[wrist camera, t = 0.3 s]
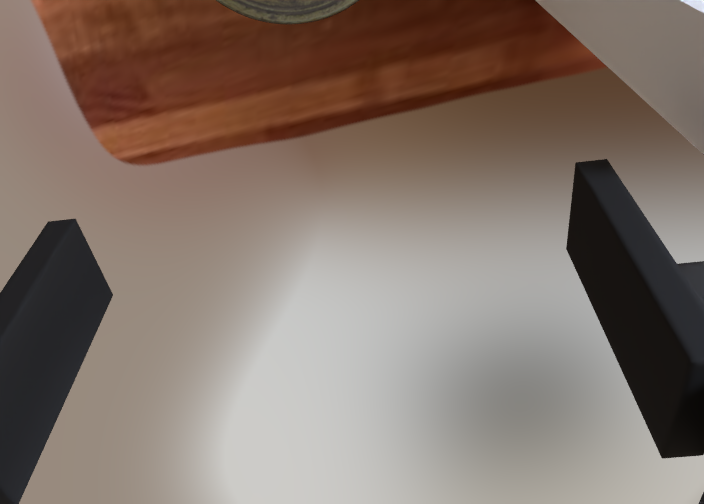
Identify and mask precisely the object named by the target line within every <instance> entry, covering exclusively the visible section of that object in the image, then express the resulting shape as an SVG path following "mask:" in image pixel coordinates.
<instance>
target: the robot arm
mask: <svg viewBox="0 0 704 504" xmlns="http://www.w3.org/2000/svg"><path fill="white" fill-rule="evenodd" d="M566 249H567V251H568V253H569V255H570V258H571V260H572V262H573V264H574V267H575V269H576V271H577V273H578V275H579V278H580V279H581V282H582V284H583V286H584V288H585V291H586V293H587V295H588V297H589V299H590V302H591V304H592V306H593V308H594V310H595V313H596V315H597V317H598V319H599V321H600V324H601V326H602V328H603V330H604V332H605V334H606V336H607V339H608V341H609V343H610V345H611V348H612V349H613V352H614V354H615V356H616V358H617V361H618V363H619V365H620V367H621V369H622V372H623V374H624V376H625V378H626V380H627V383H628V385H629V387H630V389H631V391H632V393H633V396H634V398H635V400H636V402H637V405H638V407H639V409H640V411H641V413H642V416H643V418H644V420H645V422H646V424H647V426H648V429H649V431H650V433H651V435H652V437H653V440H654V442H655V444H656V446H657V448H658V450H659V453H660V455H661V457H662V458H672V457H686V456H699V455H703V454H704V261H703V262H692V263H682V264H677V263H676V262H675V261H674V259H673V257H672V256H671V255H670V253H669V251H668V250H667V249H666V247H665V246H664V244H663V243H662V241H661V240H660V238H659V237H658V235H657V234H656V232H655V231H654V229H653V228H652V226H651V225H650V223H649V222H648V220H647V219H646V217H645V216H644V214H643V213H642V211H641V210H640V208H639V207H638V205H637V204H636V202H635V201H634V199H633V198H632V196H631V195H630V193H629V192H628V190H627V189H626V187H625V186H624V184H623V183H622V181H621V180H620V178H619V177H618V175H617V174H616V172H615V171H614V169H613V168H612V166H611V165H610V163H609V162H608V160H607V159H604V160H595V161H586V162H578V163H576V164H575V174H574V183H573V192H572V203H571V211H570V220H569V229H568V239H567V248H566ZM112 296H113V294H112V292H111V290H110V288H109V286H108V284H107V282H106V280H105V278H104V276H103V274H102V272H101V270H100V268H99V266H98V264H97V261H96V259H95V257H94V255H93V254H92V251H91V249H90V247H89V245H88V243H87V241H86V239H85V237H84V236H83V233H82V231H81V229H80V227H79V225H78V223H77V221H76V219H69V220H60V221H51V222H48V223H47V224H46V226H45V227H44V229H43V230H42V232H41V233H40V235H39V236H38V238H37V239H36V241H35V242H34V244H33V245H32V247H31V248H30V250H29V251H28V253H27V254H26V255H25V257H24V259H23V260H22V261H21V263H20V264H19V266H18V267H17V269H16V270H15V272H14V274H13V275H12V276H11V278H10V279H9V281H8V282H7V284H6V285H5V287H4V288H3V290H2V291H1V293H0V504H19V501H20V499H21V497H22V495H23V493H24V491H25V488H26V486H27V484H28V482H29V480H30V477H31V475H32V473H33V471H34V469H35V466H36V464H37V462H38V460H39V457H40V455H41V453H42V451H43V449H44V446H45V444H46V442H47V440H48V438H49V435H50V433H51V431H52V429H53V427H54V424H55V422H56V420H57V418H58V415H59V413H60V411H61V409H62V407H63V404H64V402H65V400H66V398H67V396H68V393H69V391H70V389H71V387H72V384H73V382H74V380H75V378H76V376H77V373H78V371H79V369H80V366H81V365H82V362H83V360H84V358H85V356H86V353H87V351H88V349H89V347H90V345H91V342H92V340H93V338H94V336H95V334H96V332H97V329H98V327H99V325H100V323H101V320H102V318H103V316H104V314H105V312H106V309H107V307H108V305H109V303H110V301H111V298H112ZM699 504H704V493H703V495H702V497H701V500H700V502H699Z"/></svg>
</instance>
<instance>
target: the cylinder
mask: <svg viewBox="0 0 704 504" xmlns="http://www.w3.org/2000/svg"><path fill="white" fill-rule="evenodd" d="M535 1H536V2H537V3H539V4H540V5H541V6H542V7H543V8H544V9H545V10H546V11H547V12H548V13H550V14H551V15H552V16H553V17H554V18H555V19H556V20H557V21H558V22H559V23H560V24H562V25H563V26H564V27H565V28H566V29H567V30H568V31H569V32H570V33H571V34H572V35H574V36H575V37H576V38H577V39H578V40H579V41H580V42H581V43H582V44H583V45H584V46H586V47H587V48H588V49H589V50H590V51H591V52H592V53H593V54H594V55H595V56H596V57H598V58H599V59H600V60H601V61H602V62H603V63H604V64H605V65H606V66H607V67H608V68H610V69H611V70H612V71H613V72H614V73H615V74H616V75H617V76H618V77H619V78H620V79H622V80H623V81H624V82H625V83H626V84H627V85H628V86H629V87H630V88H632V90H634V91H635V92H636V93H637V94H638V95H639V96H640V97H641V98H642V99H643V100H645V101H646V102H647V103H648V104H649V105H650V106H651V107H652V108H653V109H654V110H655V111H657V112H658V113H659V114H660V115H661V116H662V117H663V118H664V119H665V120H666V121H667V122H668V123H670V124H671V125H672V126H673V127H674V128H675V129H676V130H677V131H678V132H680V133H681V134H682V135H683V136H684V137H685V138H686V139H687V140H688V141H689V142H690V143H691V144H692V145H694V146H695V147H696V148H697V149H698V150H699V151H700V152H701V153H702V154H703V155H704V0H535Z"/></svg>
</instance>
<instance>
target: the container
mask: <svg viewBox="0 0 704 504" xmlns="http://www.w3.org/2000/svg"><path fill="white" fill-rule="evenodd" d="M216 1H218V2H219V3H221V4H222V5H224V6H226V7H227V8H229V9H231V10H233V11H235V12H237V13H239V14H241V15H244V16H246V17H249V18H252V19H255V20H259V21H263V22H268V23H275V24H301V23H308V22H314V21H318V20H321V19H325V18H328V17H330V16H333V15H335V14H337V13H339V12H341V11H343V10H345V9H347V8H349V7H350V6H352V5H353V4H355V3H356V2H357V1H359V0H216Z"/></svg>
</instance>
